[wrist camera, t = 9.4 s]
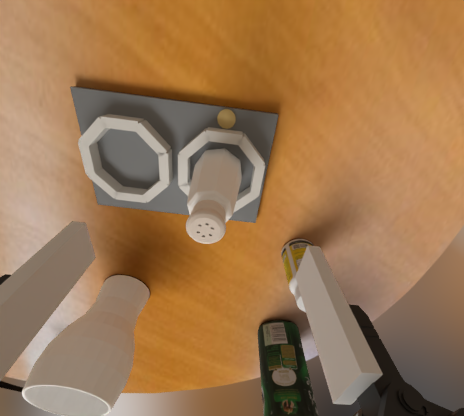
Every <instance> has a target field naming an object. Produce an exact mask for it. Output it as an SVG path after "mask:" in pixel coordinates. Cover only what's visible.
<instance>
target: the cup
mask: <svg viewBox="0 0 464 416" xmlns="http://www.w3.org/2000/svg"><path fill="white" fill-rule="evenodd" d="M149 297H150V292H149V289H148V288H147V286H146V285H145V284H144V283H142V282H141V281H139V280H138V279H136V278H133V277H130V276H125V275H115V276H111V277H109V278H107V279H106V280H105V282H104V284H103V286H102V288H101V290H100V292H99V295H98V297H97V299H96V302H95V303H94V304H93V305H92V306H91V308H90V309H89V310H88V311H87V312H86V314H85V315H83V316H82V317H80V318H79V319H77V320H76V321H75V322H73V323H72V324H70V325H69V326H68V327H66V328H65V329H64V330H63V331H62V332H61V333H60V334H59V335H58V336H57V337H56V338H54V339H53V340H52V341H51V342H50V343H49V344H48V346H47V347H46V349H45V350H44V351H43V353H42V354H41V355H40V357H39V358H38V360H37V361H36V362H35V364H34V366H33V369H32V371H31V373H30V375H29V377H28V379H27V381H26V383H25V386H24V388H23V390H22V396H23V397H24V399H25V400H26V401H28V402H29V403H30V404H32V405H34V406H36V407H38V408H40V409H43V410H45V411H49V412H52V413H55V414H59V415H64V416H104V415H106V414H108V413H109V412H110V411H111V409H112V407H113V406H114V404H115V402H116V401H117V399H118V397H119V395H120V394H121V392H122V390H123V389H124V387H125V385H126V383H127V380H128V377H129V375H130V372H131V369H132V366H133V357H134V349H135V343H134V329H135V325H136V322H137V318H138V315H139V314H140V312H141V311H142V309H143V308H144V306H145V304H146V302H147V300H148V299H149Z"/></svg>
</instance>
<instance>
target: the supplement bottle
mask: <svg viewBox="0 0 464 416" xmlns="http://www.w3.org/2000/svg"><path fill="white" fill-rule="evenodd" d="M307 246H314V245H313V244H312V243H311V242H310V241H308V240H305V239H295V240H292V241H290V242H288V243H287V244H286V245H285V246H284V247H283V249H282V252H281V254H282V259H283V263H284V268H285V272H286V276H287V280H288V284H289V288H290V291H291V292H292V293H293V295H295V299H296V303H297V306H298V307H299V309H301V310H302V311H304V312H306V310H305V307H304V304H303V300H302V297H301V294H300V290H299V287H298V284H297V280H296V277H295V276H296V274H297V271H298V269H299V266H300V264H301V261H302V258H303V256H304V253H305V251H306V248H307Z"/></svg>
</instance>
